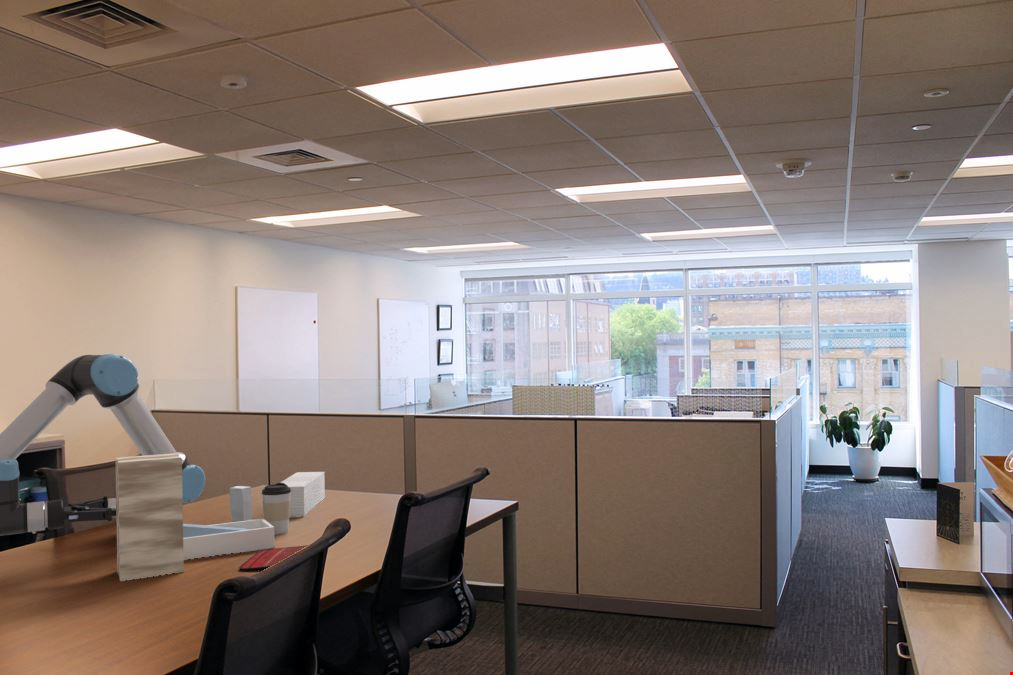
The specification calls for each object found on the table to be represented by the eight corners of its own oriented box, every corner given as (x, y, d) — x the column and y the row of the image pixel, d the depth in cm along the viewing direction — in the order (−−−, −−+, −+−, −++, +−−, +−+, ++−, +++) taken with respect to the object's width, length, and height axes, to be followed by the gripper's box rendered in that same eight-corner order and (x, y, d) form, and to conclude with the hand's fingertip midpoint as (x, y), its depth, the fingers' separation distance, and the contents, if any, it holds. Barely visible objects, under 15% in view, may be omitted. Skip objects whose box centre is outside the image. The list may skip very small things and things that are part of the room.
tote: (146, 553, 230) (146, 532, 230) (263, 538, 246) (263, 518, 246) (151, 565, 218) (151, 542, 218) (274, 547, 234) (274, 527, 234)
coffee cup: (283, 535, 249) (282, 487, 249) (256, 534, 251) (255, 486, 251) (296, 529, 258) (296, 482, 258) (270, 528, 259) (270, 481, 260)
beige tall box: (117, 571, 212) (115, 457, 213) (178, 562, 220) (176, 453, 220) (120, 581, 203) (118, 462, 203) (183, 572, 210) (181, 457, 210)
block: (150, 535, 226) (153, 521, 226) (243, 542, 238) (246, 528, 239) (151, 538, 222) (154, 524, 223) (246, 544, 235) (249, 531, 235)
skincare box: (253, 522, 269) (252, 486, 269) (243, 525, 265) (242, 488, 265) (239, 521, 272) (239, 485, 272) (229, 523, 268) (229, 487, 268)
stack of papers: (297, 500, 308) (296, 472, 308) (325, 499, 308) (324, 471, 308) (273, 518, 276) (272, 487, 276) (304, 517, 276) (303, 486, 276)
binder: (317, 543, 230) (297, 563, 209) (317, 551, 230) (297, 572, 209) (261, 547, 231) (236, 567, 210) (262, 555, 231) (236, 576, 210)
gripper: (46, 520, 222) (131, 510, 233) (47, 539, 201) (141, 527, 212) (45, 493, 222) (131, 484, 233) (46, 509, 201) (140, 498, 212)
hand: (136, 504), depth 223 cm, fingers open, 12 cm apart
